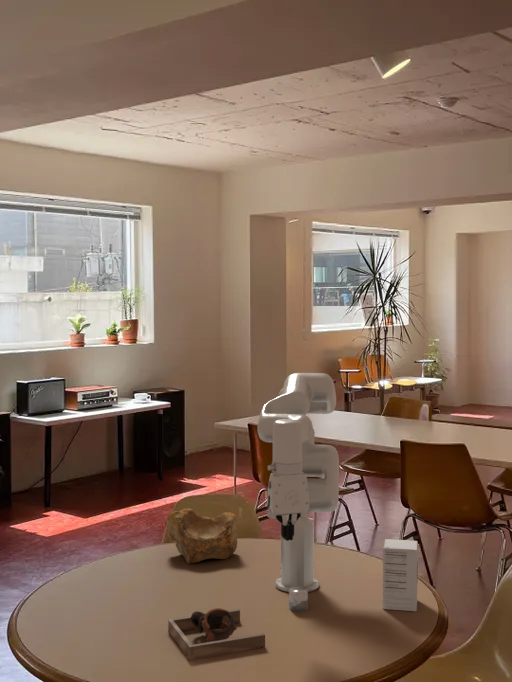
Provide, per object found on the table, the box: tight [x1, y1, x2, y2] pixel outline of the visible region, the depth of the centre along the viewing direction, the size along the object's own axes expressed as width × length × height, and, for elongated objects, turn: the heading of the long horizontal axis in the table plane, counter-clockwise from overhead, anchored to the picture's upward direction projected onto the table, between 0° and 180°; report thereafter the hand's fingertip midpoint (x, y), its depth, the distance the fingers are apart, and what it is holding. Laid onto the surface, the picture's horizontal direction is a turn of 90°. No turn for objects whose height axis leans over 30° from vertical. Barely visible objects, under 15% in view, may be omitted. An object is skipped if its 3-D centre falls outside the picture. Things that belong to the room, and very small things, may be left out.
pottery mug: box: [191, 608, 237, 643], centre depth 208 cm, size 12×10×8 cm
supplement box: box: [382, 538, 419, 612], centre depth 230 cm, size 10×9×17 cm
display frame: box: [167, 608, 266, 661], centre depth 207 cm, size 18×19×3 cm
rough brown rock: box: [166, 507, 238, 565], centre depth 270 cm, size 23×17×15 cm
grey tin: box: [288, 587, 309, 613], centre depth 228 cm, size 5×5×5 cm
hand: (287, 538), depth 215 cm, fingers closed
